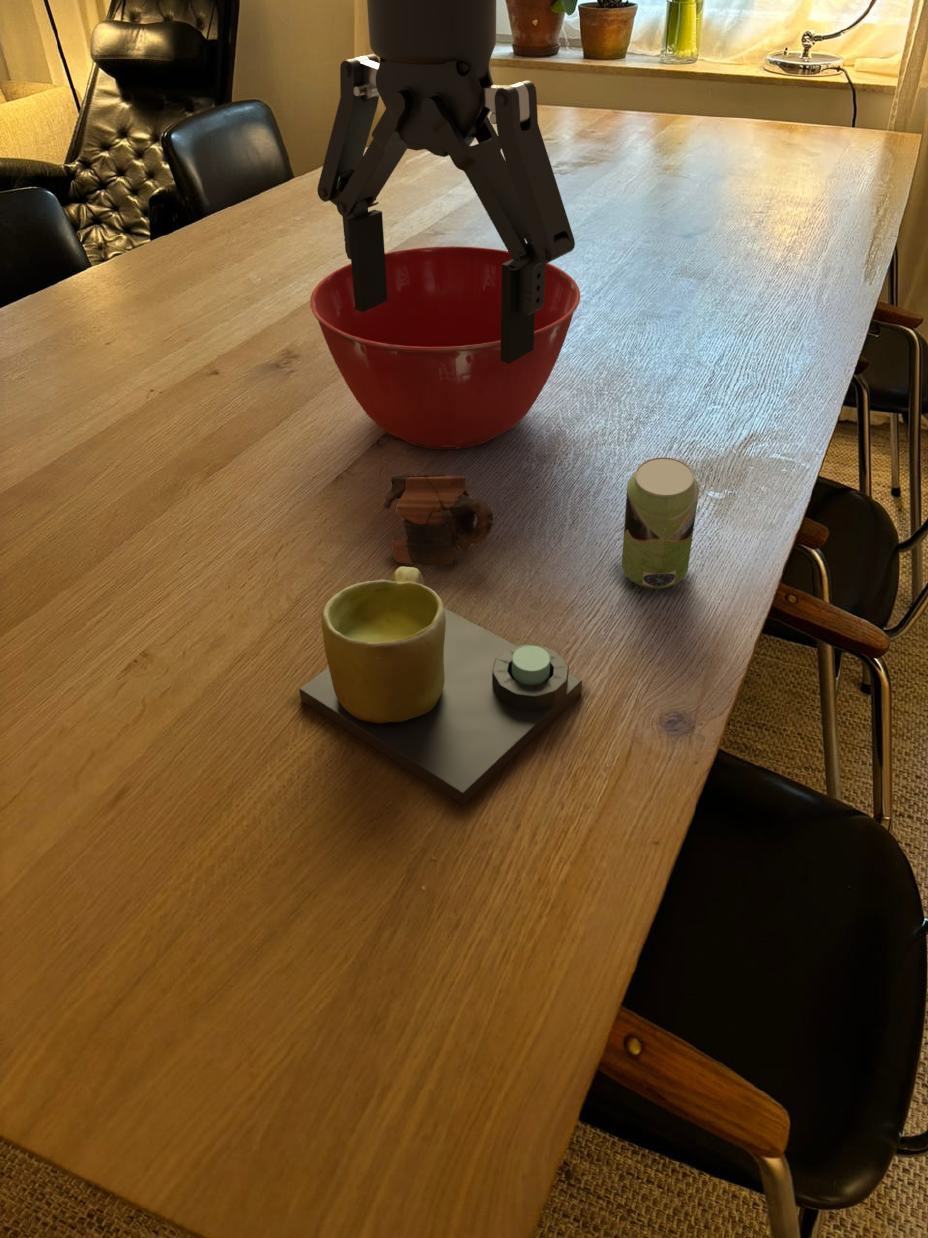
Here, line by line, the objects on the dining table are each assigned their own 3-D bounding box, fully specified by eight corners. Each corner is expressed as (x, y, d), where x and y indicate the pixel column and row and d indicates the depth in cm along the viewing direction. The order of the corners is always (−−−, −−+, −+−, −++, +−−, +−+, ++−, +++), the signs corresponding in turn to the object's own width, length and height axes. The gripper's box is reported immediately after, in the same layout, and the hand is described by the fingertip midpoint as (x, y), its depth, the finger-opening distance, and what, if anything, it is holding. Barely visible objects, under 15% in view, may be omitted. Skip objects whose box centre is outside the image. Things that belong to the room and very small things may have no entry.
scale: (581, 692, 80) (583, 665, 78) (463, 806, 71) (462, 778, 70) (424, 608, 89) (422, 582, 87) (300, 701, 80) (296, 673, 78)
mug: (429, 745, 72) (396, 619, 68) (316, 737, 77) (280, 619, 73) (500, 667, 81) (475, 553, 78) (396, 664, 86) (368, 558, 83)
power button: (557, 670, 78) (558, 656, 77) (534, 691, 77) (535, 676, 76) (526, 654, 80) (527, 640, 79) (503, 674, 78) (504, 660, 77)
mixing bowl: (309, 381, 123) (293, 256, 113) (529, 353, 128) (533, 231, 118) (346, 503, 102) (331, 363, 92) (607, 464, 107) (620, 327, 97)
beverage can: (686, 558, 94) (705, 447, 86) (685, 607, 88) (704, 493, 81) (620, 551, 95) (632, 441, 87) (614, 599, 89) (627, 486, 82)
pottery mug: (363, 563, 95) (362, 476, 93) (418, 554, 103) (417, 474, 101) (472, 570, 88) (472, 477, 87) (521, 561, 96) (522, 475, 95)
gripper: (237, -35, 61) (282, 302, 74) (573, 6, 48) (552, 400, 62) (325, -48, 65) (352, 272, 79) (653, -14, 53) (618, 358, 66)
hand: (440, 329), depth 70 cm, fingers open, 13 cm apart
